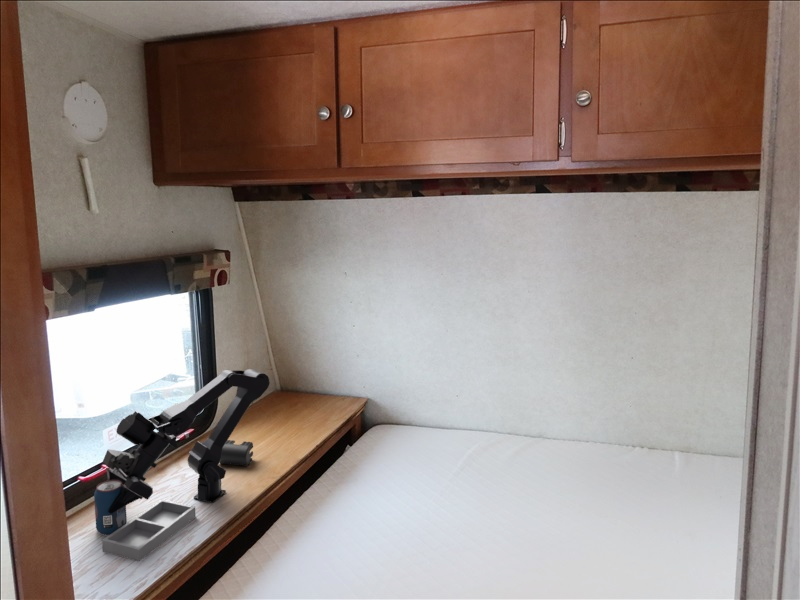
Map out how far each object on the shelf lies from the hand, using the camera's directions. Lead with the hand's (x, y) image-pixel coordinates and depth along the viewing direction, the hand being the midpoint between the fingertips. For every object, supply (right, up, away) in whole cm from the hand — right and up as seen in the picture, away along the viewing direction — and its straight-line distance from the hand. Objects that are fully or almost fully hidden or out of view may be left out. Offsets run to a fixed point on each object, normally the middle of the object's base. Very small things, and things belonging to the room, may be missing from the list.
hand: (104, 506), depth 145 cm
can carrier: (+11, -7, +1) cm, 13 cm away
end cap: (+21, -1, +40) cm, 46 cm away
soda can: (+1, -7, +2) cm, 7 cm away
